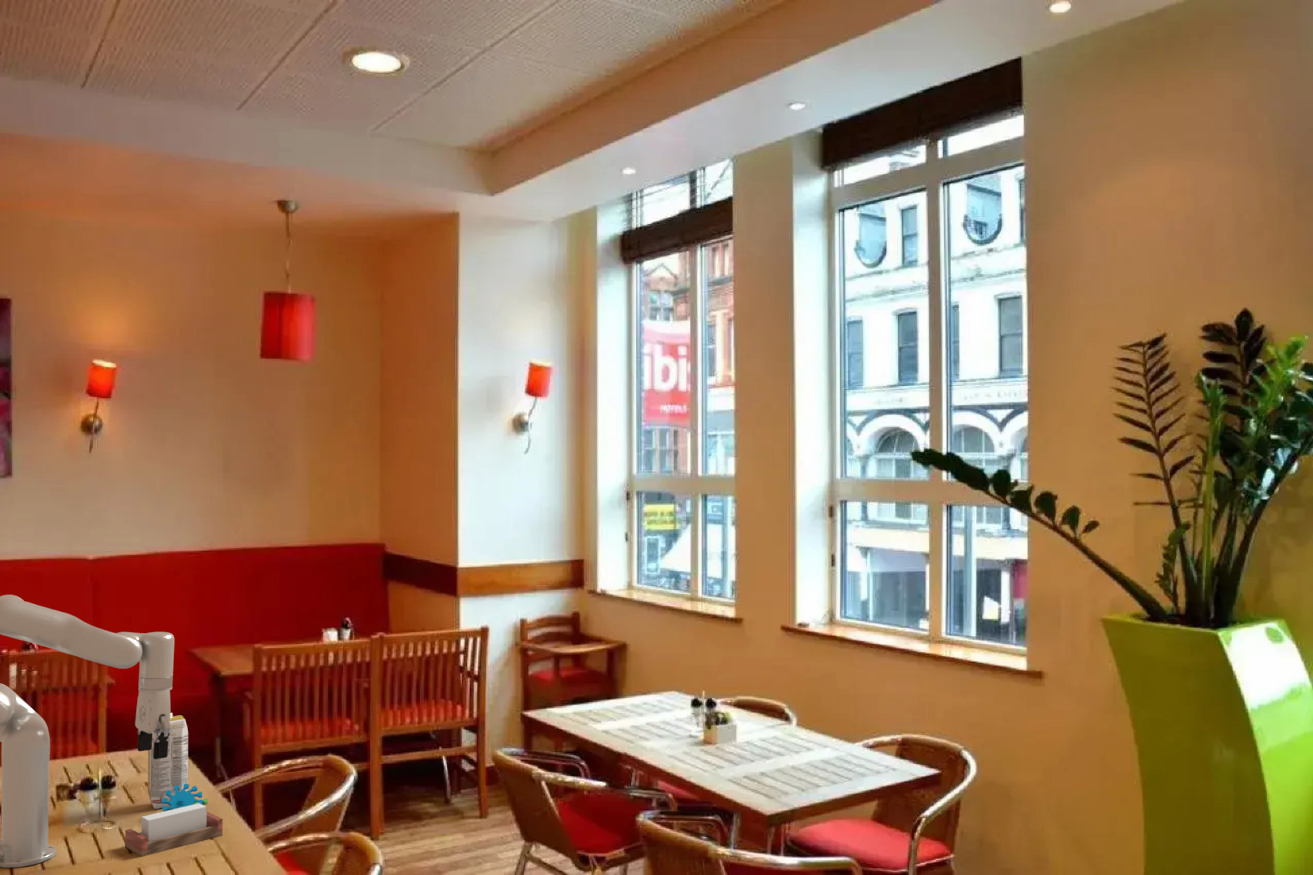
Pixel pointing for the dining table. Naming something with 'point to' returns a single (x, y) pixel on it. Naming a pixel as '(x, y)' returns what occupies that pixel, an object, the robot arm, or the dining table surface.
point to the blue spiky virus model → (182, 798)
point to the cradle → (173, 837)
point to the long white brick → (174, 822)
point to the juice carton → (169, 764)
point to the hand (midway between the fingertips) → (152, 754)
